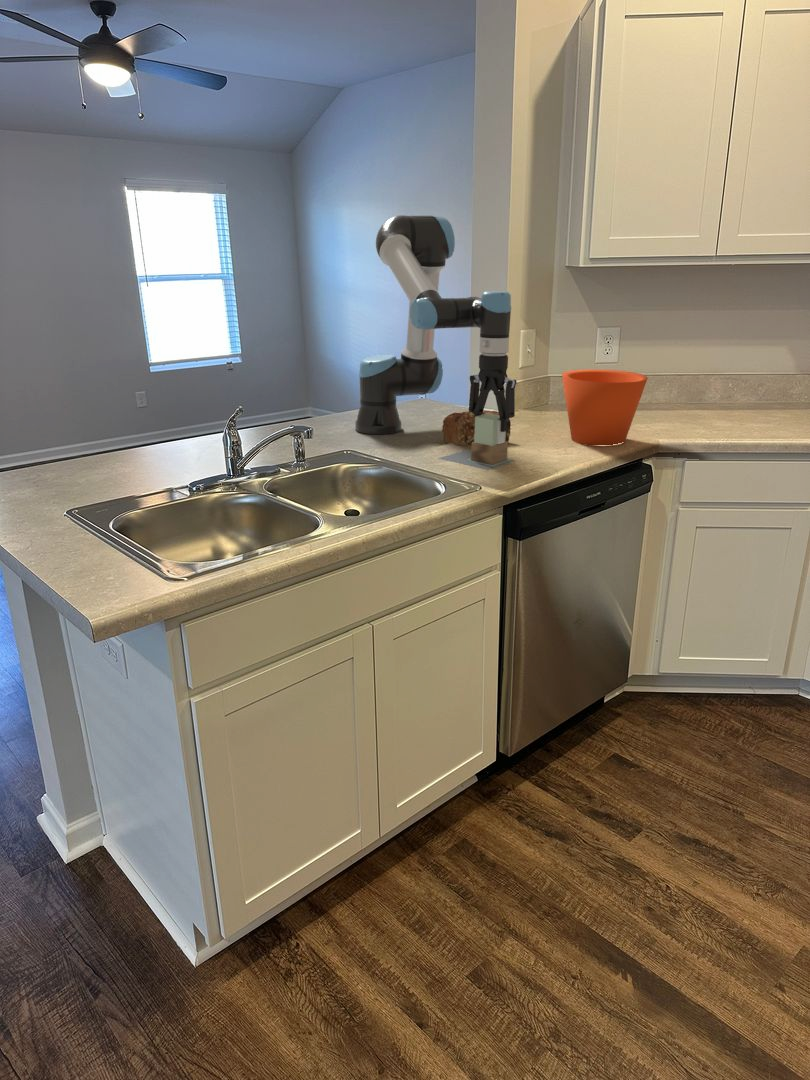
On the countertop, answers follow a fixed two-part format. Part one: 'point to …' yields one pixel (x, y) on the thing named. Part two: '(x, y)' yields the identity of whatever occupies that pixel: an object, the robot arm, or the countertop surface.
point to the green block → (486, 429)
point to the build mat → (465, 459)
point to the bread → (464, 428)
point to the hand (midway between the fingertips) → (489, 441)
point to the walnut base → (489, 453)
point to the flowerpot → (601, 404)
